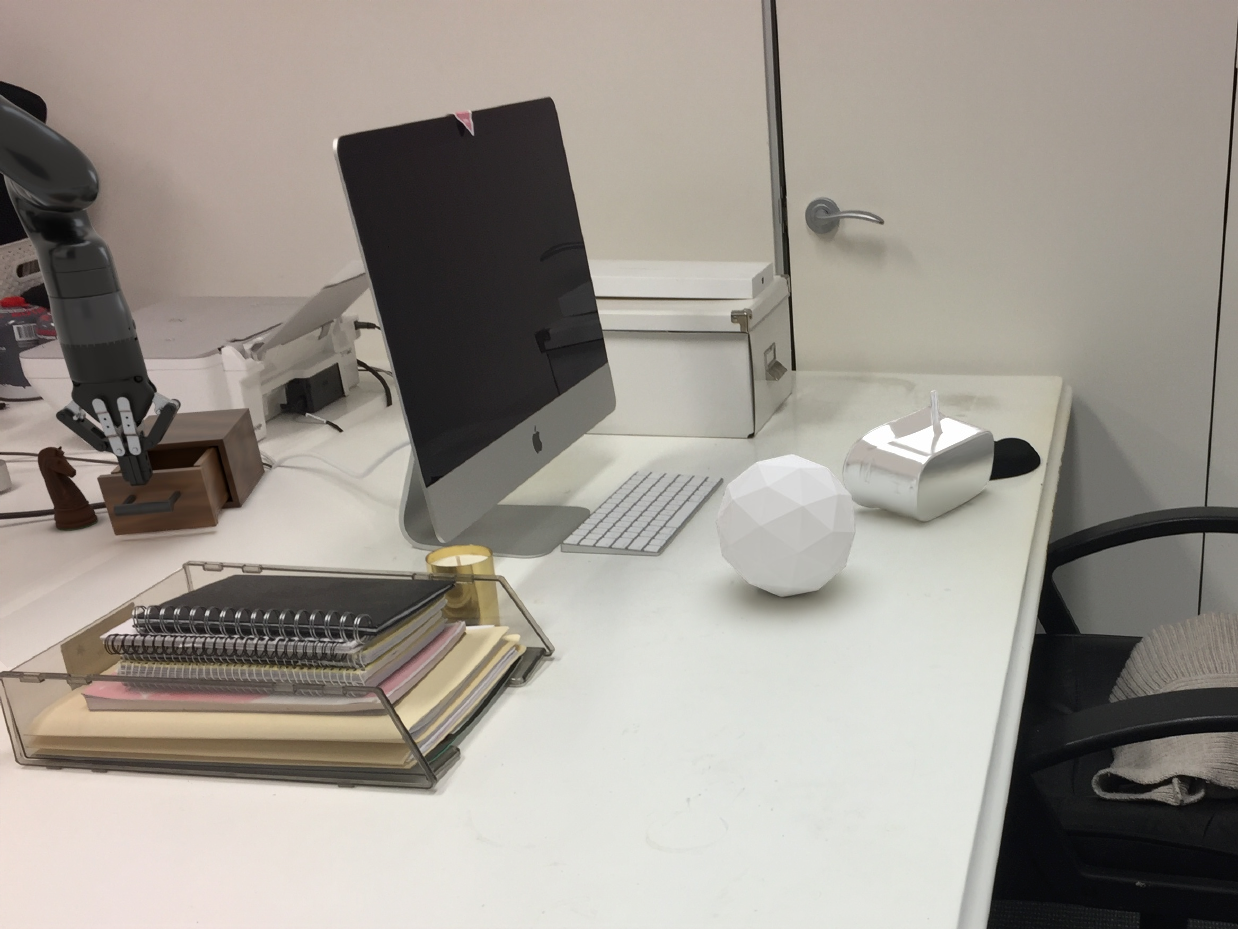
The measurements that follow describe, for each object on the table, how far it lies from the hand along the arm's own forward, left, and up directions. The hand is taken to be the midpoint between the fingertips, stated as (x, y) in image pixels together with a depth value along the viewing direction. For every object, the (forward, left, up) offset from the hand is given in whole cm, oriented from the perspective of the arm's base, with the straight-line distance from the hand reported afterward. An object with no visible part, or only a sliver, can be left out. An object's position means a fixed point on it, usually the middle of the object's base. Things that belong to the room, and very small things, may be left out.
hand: (140, 483), depth 145 cm
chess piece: (-13, +11, -8) cm, 19 cm away
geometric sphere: (+71, -32, -8) cm, 78 cm away
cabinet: (0, +19, -8) cm, 21 cm away
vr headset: (+92, -9, -8) cm, 92 cm away
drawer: (0, +7, -7) cm, 10 cm away
